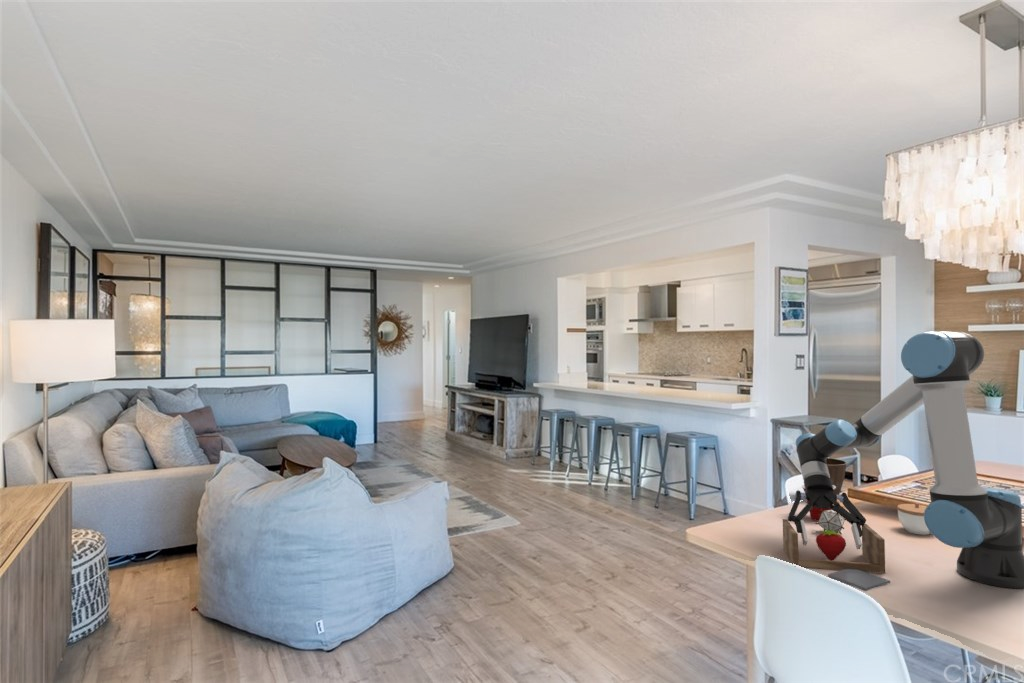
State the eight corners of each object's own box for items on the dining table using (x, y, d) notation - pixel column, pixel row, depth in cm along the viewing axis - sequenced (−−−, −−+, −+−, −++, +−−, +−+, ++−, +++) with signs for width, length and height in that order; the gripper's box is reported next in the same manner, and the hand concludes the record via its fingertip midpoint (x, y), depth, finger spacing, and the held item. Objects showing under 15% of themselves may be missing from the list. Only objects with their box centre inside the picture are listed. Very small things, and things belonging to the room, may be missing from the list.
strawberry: (848, 566, 155) (847, 529, 155) (817, 562, 158) (816, 527, 158) (844, 558, 161) (843, 523, 161) (815, 555, 164) (814, 521, 164)
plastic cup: (808, 513, 206) (808, 480, 206) (841, 519, 198) (840, 485, 198) (797, 519, 198) (796, 485, 199) (830, 525, 190) (829, 490, 191)
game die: (838, 546, 181) (854, 527, 175) (811, 536, 183) (826, 516, 177) (835, 526, 188) (850, 506, 183) (809, 516, 190) (823, 496, 184)
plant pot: (850, 500, 222) (849, 459, 222) (844, 508, 211) (843, 466, 211) (808, 494, 232) (807, 455, 232) (800, 502, 220) (799, 461, 220)
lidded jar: (943, 532, 182) (942, 503, 182) (930, 539, 176) (929, 509, 176) (906, 524, 191) (905, 497, 191) (892, 530, 184) (891, 502, 185)
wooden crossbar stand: (783, 549, 169) (782, 519, 169) (867, 555, 163) (866, 524, 163) (793, 566, 156) (792, 533, 156) (885, 573, 150) (884, 539, 150)
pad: (890, 582, 144) (890, 580, 144) (866, 590, 139) (866, 588, 139) (852, 569, 153) (852, 567, 153) (828, 576, 148) (828, 574, 148)
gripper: (859, 488, 172) (879, 554, 157) (771, 484, 178) (782, 547, 164) (865, 474, 167) (885, 542, 152) (774, 471, 173) (785, 535, 159)
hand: (832, 545), depth 158 cm, fingers open, 13 cm apart
